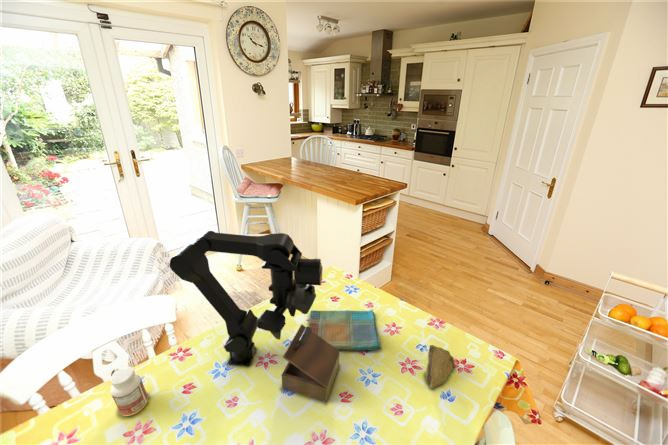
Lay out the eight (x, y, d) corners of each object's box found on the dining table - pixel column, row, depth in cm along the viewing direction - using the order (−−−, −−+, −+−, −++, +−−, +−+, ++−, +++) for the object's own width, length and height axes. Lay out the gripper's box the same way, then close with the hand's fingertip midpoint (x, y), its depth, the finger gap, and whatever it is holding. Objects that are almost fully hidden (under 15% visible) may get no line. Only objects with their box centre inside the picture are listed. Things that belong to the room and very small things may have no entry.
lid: (282, 357, 74) (291, 346, 71) (300, 325, 84) (308, 314, 81) (325, 388, 73) (336, 378, 71) (338, 352, 83) (348, 342, 81)
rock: (450, 349, 89) (419, 347, 88) (465, 346, 81) (432, 343, 80) (456, 390, 83) (423, 388, 82) (472, 391, 76) (436, 388, 75)
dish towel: (381, 352, 90) (382, 346, 89) (306, 351, 90) (306, 345, 89) (374, 313, 106) (374, 308, 105) (310, 313, 106) (310, 307, 105)
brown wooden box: (282, 388, 79) (281, 374, 77) (299, 355, 89) (299, 342, 87) (326, 402, 75) (326, 388, 73) (338, 366, 85) (339, 352, 83)
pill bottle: (128, 394, 76) (115, 364, 72) (152, 392, 77) (142, 362, 73) (114, 418, 71) (100, 387, 66) (140, 416, 71) (128, 385, 67)
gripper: (296, 311, 65) (298, 360, 72) (323, 267, 82) (323, 311, 88) (252, 300, 68) (258, 349, 75) (287, 261, 84) (290, 303, 91)
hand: (285, 326), depth 82 cm, fingers open, 9 cm apart
